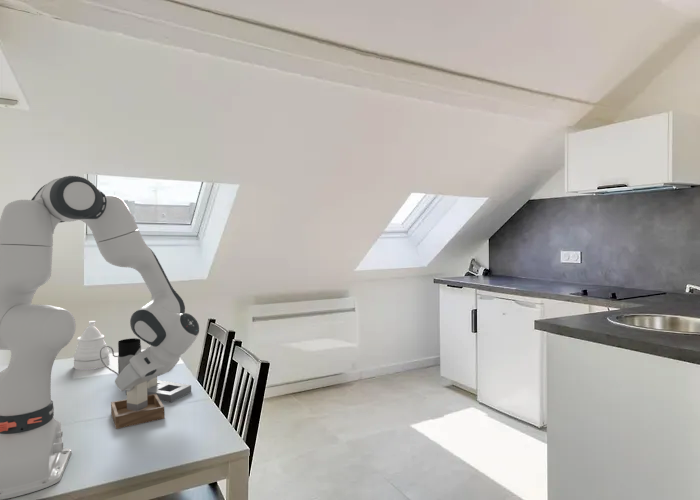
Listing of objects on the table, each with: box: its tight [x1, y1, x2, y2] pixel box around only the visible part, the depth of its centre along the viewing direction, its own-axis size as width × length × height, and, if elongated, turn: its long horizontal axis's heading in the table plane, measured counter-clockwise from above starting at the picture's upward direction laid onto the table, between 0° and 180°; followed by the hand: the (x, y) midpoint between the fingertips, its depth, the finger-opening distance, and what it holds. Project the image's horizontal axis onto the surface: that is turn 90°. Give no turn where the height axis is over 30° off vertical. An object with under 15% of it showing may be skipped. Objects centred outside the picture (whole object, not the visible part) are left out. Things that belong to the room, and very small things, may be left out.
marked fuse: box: [126, 381, 148, 411], centre depth 137 cm, size 4×4×12 cm
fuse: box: [147, 376, 158, 389], centre depth 157 cm, size 4×4×12 cm
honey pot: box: [73, 320, 111, 371], centre depth 187 cm, size 13×13×18 cm
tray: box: [110, 394, 166, 430], centre depth 137 cm, size 13×13×4 cm
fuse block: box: [125, 379, 192, 403], centre depth 155 cm, size 19×10×2 cm, turn 70°
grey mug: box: [100, 337, 142, 378], centre depth 168 cm, size 9×14×15 cm, turn 112°
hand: (135, 386), depth 137 cm, fingers closed on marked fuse, 4 cm apart
